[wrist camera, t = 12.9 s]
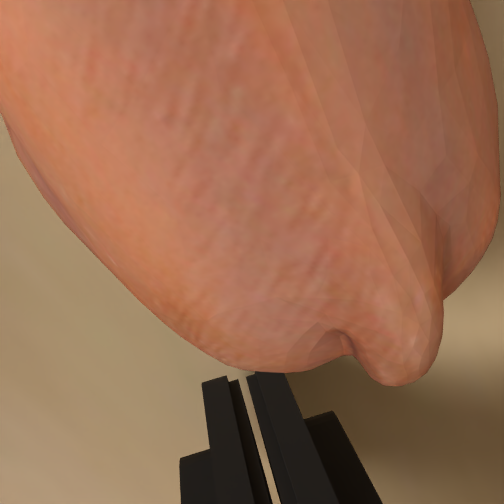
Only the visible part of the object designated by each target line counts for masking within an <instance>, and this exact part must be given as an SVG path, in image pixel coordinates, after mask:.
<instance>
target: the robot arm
mask: <svg viewBox="0 0 504 504" xmlns="http://www.w3.org/2000/svg"><path fill="white" fill-rule="evenodd" d="M246 379H247V383H248V386H249V390H250V394H251V397H252V401H253V405H254V408H255V412H256V416H257V419H258V423H259V427H260V430H261V434H262V438H263V441H264V445H265V448H266V452H267V456H268V459H269V463H270V467H271V470H272V474H273V478H274V481H275V485H276V488H277V492H278V495H279V499H280V502H281V504H383V503H382V501H381V499H380V498H379V496H378V494H377V492H376V490H375V488H374V486H373V484H372V482H371V481H370V479H369V477H368V475H367V473H366V471H365V469H364V467H363V465H362V464H361V462H360V460H359V458H358V456H357V454H356V452H355V450H354V448H353V446H352V445H351V443H350V441H349V439H348V437H347V435H346V433H345V431H344V429H343V428H342V426H341V424H340V422H339V420H338V418H337V416H336V415H335V413H334V412H333V411H330V412H326V413H323V414H320V415H317V416H314V417H310V418H307V419H303V417H302V415H301V412H300V410H299V408H298V405H297V403H296V401H295V398H294V396H293V394H292V391H291V389H290V386H289V384H288V382H287V379H286V377H285V375H284V373H276V372H259V371H255V374H254V375H251V376H247V377H246ZM202 391H203V399H204V406H205V414H206V422H207V429H208V437H209V445H210V449H208V450H205V451H201V452H198V453H195V454H192V455H189V456H185V457H182V458H180V466H179V468H180V491H181V504H273V503H272V499H271V495H270V492H269V488H268V484H267V480H266V477H265V473H264V470H263V466H262V463H261V459H260V455H259V452H258V448H257V445H256V441H255V438H254V434H253V431H252V427H251V423H250V420H249V416H248V413H247V409H246V406H245V402H244V399H243V395H242V391H241V388H240V384H239V381H238V379H237V380H234V381H231V382H228V378H227V376H223V377H219V378H216V379H213V380H209V381H206V382H203V383H202Z"/></svg>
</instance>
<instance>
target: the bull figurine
mask: <svg viewBox="0 0 504 504" xmlns="http://www.w3.org/2000/svg"><path fill="white" fill-rule="evenodd" d="M0 113H1V114H2V117H3V119H4V122H5V125H6V127H7V130H8V132H9V135H10V137H11V140H12V143H13V145H14V148H15V150H16V153H17V156H18V158H19V159H20V161H21V162H22V164H23V166H24V167H25V169H26V170H27V172H28V174H29V175H30V177H31V178H32V180H33V181H34V183H35V185H36V186H37V188H38V189H39V191H40V193H41V194H42V196H43V197H44V199H45V200H46V201H47V202H48V204H49V205H50V206H51V207H52V209H53V210H54V211H55V212H56V214H57V215H58V216H59V217H60V219H61V220H62V221H63V222H64V224H65V225H66V226H67V227H68V228H69V229H70V230H71V231H72V232H73V233H74V234H75V235H76V236H77V237H78V238H79V239H80V240H81V241H82V242H83V243H84V244H85V245H86V246H87V247H88V248H89V249H90V250H91V251H92V253H93V254H94V255H95V256H96V257H97V258H98V259H99V260H100V261H101V262H102V263H103V264H104V265H105V266H106V267H107V268H108V269H109V270H110V271H111V272H112V273H113V274H114V275H115V276H116V277H117V278H118V279H119V280H120V281H121V282H122V283H123V284H124V286H125V287H126V288H127V289H128V290H129V291H130V292H131V293H132V294H133V295H134V296H135V297H136V298H137V299H138V300H139V301H140V302H141V303H142V304H143V305H145V306H146V307H147V308H148V309H149V310H150V311H151V312H152V313H153V314H155V315H156V316H157V317H158V318H159V319H160V320H161V321H162V322H163V323H165V324H166V325H167V326H168V327H170V328H171V329H172V330H173V331H175V332H176V333H177V334H178V335H179V336H181V337H182V338H184V339H185V340H187V341H188V342H190V343H191V344H193V345H194V346H196V347H197V348H199V349H200V350H202V351H203V352H205V353H206V354H208V355H210V356H212V357H213V358H215V359H217V360H219V361H220V362H222V363H224V364H226V365H228V366H232V367H235V368H238V369H242V370H249V371H259V372H276V373H290V372H302V371H307V370H311V369H314V368H316V367H318V366H321V365H323V364H325V363H327V362H329V361H332V360H334V359H336V358H338V357H341V356H343V355H353V356H354V357H355V358H356V359H357V360H358V361H359V362H360V364H361V365H362V366H363V368H364V369H365V370H366V372H367V373H368V374H369V376H370V377H371V378H372V379H374V380H375V381H377V382H379V383H380V384H382V385H384V386H402V385H406V384H409V383H413V382H415V381H416V380H418V379H419V378H420V377H422V376H423V375H424V374H426V373H427V371H428V370H429V368H430V367H431V365H432V364H433V362H434V361H435V358H436V356H437V353H438V350H439V346H440V343H441V339H442V334H443V318H444V309H443V300H444V299H445V298H447V297H448V296H449V295H450V294H451V293H453V292H454V291H455V290H456V289H457V288H458V287H459V286H460V284H461V283H462V282H463V281H464V280H465V279H466V278H467V277H468V276H469V275H470V274H471V272H472V271H473V270H474V268H475V267H476V265H477V264H478V263H479V261H480V260H481V258H482V257H483V255H484V253H485V251H486V250H487V248H488V246H489V244H490V242H491V240H492V238H493V235H494V231H495V228H496V225H497V221H498V214H499V205H500V197H501V191H500V171H499V138H498V105H497V100H496V94H495V89H494V84H493V79H492V73H491V68H490V63H489V58H488V54H487V51H486V48H485V45H484V42H483V38H482V35H481V32H480V29H479V26H478V23H477V20H476V17H475V14H474V11H473V8H472V6H471V3H470V0H0Z"/></svg>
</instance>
